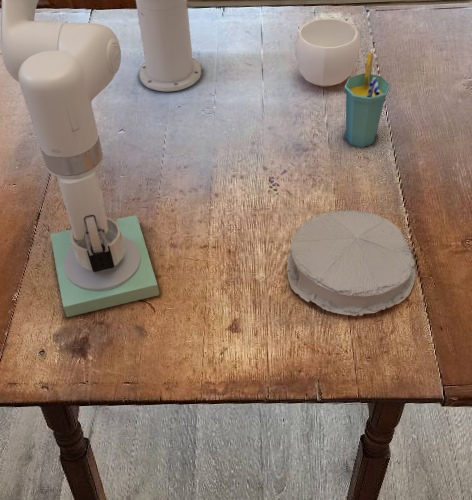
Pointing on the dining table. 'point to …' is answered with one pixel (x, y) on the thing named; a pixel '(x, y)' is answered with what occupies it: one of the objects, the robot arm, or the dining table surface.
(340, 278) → the grey round cake
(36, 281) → the dining table surface
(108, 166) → the dining table surface
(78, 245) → the bowl
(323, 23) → the cup
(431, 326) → the dining table surface
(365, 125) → the cup
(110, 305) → the scale
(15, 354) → the dining table surface
